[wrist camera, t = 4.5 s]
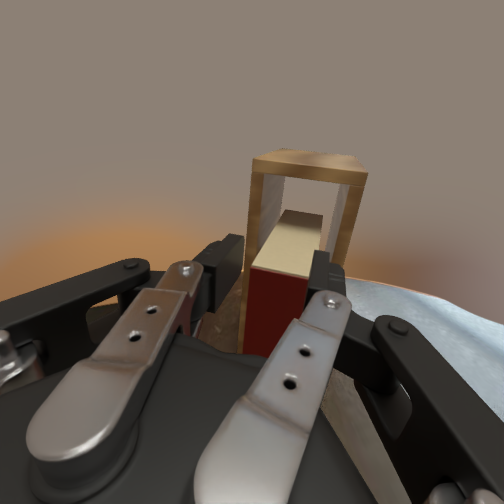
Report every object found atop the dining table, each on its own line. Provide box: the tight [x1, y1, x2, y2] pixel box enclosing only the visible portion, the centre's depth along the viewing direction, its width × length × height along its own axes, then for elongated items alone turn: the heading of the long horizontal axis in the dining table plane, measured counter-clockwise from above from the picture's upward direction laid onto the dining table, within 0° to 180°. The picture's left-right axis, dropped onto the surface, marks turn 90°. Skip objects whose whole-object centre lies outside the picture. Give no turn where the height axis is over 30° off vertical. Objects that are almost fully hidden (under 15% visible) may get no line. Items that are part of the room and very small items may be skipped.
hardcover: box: [242, 210, 323, 358], centre depth 29 cm, size 5×15×21 cm, turn 164°
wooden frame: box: [237, 148, 368, 354], centre depth 35 cm, size 10×15×27 cm, turn 164°
